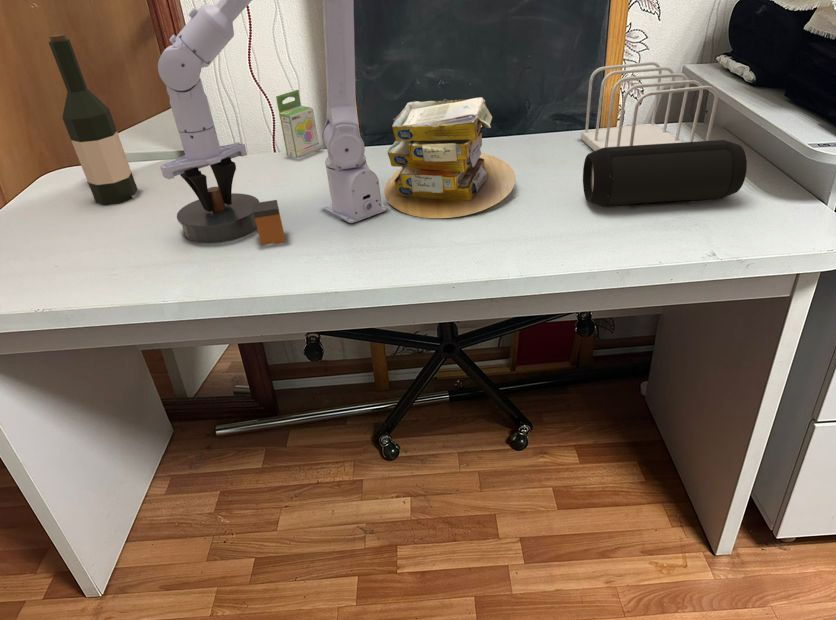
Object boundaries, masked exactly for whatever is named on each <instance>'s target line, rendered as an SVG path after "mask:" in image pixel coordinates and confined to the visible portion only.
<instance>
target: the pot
mask: <svg viewBox="0 0 836 620" xmlns="http://www.w3.org/2000/svg"><path fill="white" fill-rule="evenodd" d="M181 226H182V230H183V233H184V236H185V238H187V240H189V241H192V242H195V243H199V244H218V243H225V242H230V241H236V240H238V239H240V238H243V237H246V236H248V235H250V234H252V233H254V232H255V231H256V230H257V225H256V221H255V217H254V215H253V216H251V217H249V218H248V219H246V220H243V221H241V222H238V223H235V224H232V225H228V226H223V227H218V228H208V229H198V228H190V227H186V226H183V225H181Z"/></svg>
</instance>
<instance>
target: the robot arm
mask: <svg viewBox="0 0 836 620" xmlns="http://www.w3.org/2000/svg"><path fill="white" fill-rule="evenodd" d="M252 1H253V0H218V2H217V3H215V4H201V5H200V6H199V8H198V9H197V8H196V7H193V8H192V9H191V10H190V12H188V16H189V17H190V19H189V20H188V21H187V23H186V24H185V25H184V26H183V28H182V29H181V30H180V31H179V32H178V34H177V35H175V34H173V35H171V37H170V38H169V42H170V43H171V44H172V45H169V46H168V47H166V48H165V49H164V50H163V51H162V53H161V55H160V57H159V59H158V62H157V71H158V75H159V78H160V79H161V81H162V82H163V83H164V84H165V87H166V93H167V95H168V97H169V105H170V108H171V111H172V116H173V118H174V122H175V125H176V128H177V132H178V136H179V139H180V142H181V145H182V149H183V152H184V155H182V156H180V157H178V158H175V159H173V160H171V161H168V162H165V163H163V164H160V165H159V167H160V171H161V175H162V176H163V178H164V179H166V180H171V179H175V177H177V176H180V177H181V178H182V179H183V180H184V181H185V182H186V184H187V185H188V186H189V187H190V188H191V190H192V191H193V192H194V194H195V195H196V197H197V198H198V199H197V200H200V202H201V204H202V206H203V208H204V209H205V210H206V211H208V212H211V211H213V208H212V203H211V200H210V197H209V194H208V188H209V187H208V181H207V175H206V174H203V173H202V171H201V170H200V169H202V168H206V167H209V166H210V169H211V170H212V173H213V176H214V178H215V181H216V184H217V187H220V188H221V192H222V196H223V200H224V203H225V204H227V205H230V204H232V199H231V193H232V191H233V190H232V189H233V181H234V177H235V173H236V171H237V165H236V162H234V161H232V159H235V158H238V157H242V158H243V157H246V156H248V152H247V147H246V144H245V143H243V142H239V141H238V142H234V143H229V144H225V145H220V141H219V139H218V135H217V134H218V133H217V130H216V126H215V123H214V118H213V114H212V111H211V107H210V103H209V100H208V96H207V94H206V92H205V90H204V89H205V88H204V86H203V81H202V79H201V72H202V69H203V68H208V67H209V66H210V65H211V64H212V63H213V61H214V60H216V58H217V56H218V55H219V54H220V53H221V52H223V50H224V48H225V47H226V46H227V45H228V44H229V42H230V41H231V40H232V39H233V38H234V36H235V33H234V31H235V29H234V21H235V20H236V19H237V18H238V17H239V16H240V15H241V13H242V12H243V11H244V10H245V9H246V8H247V7H248V5H249V4H250V3H251V2H252ZM354 3H355V2H354V0H322V15H323V36H324V39H323V40H324V56H325V57H324V58H325V80H326V81H325V83H326V101H327V103H326V113H325V114H326V119H325V124H324V126H323V127H322V130H321V138H322V142H323V144H324V145H325V148H326V151H327V157H326V159H325V161H324V165H325V169H326V175H327V176H326V177H327V183H328V188H329V189H328V190H329V195H330V200H331V204H328V205H325V206H323V207H322V208H323V209H325V210H326V211H329V212H330V213H331V214H334V215H336V216H338V217H339V218H341V219H342V220H343V221H345V222H347V223H348V224H354V223H357V222H360V221H362V220H365V219H368V218H371V217H373V216H376V215H380V214H381V213H384V212H386V211H387V208H386V207H385V206H383V205H382V196H381V187H380V179H379V177H378V175H377V173H375V172H374V171H373V170H371V168H370V167H369V166H368V165H369V164H368V163H367V158H366V156H365V151H366V149H365V148H366V147H365V143H364V140H363V139H362V136H361V134H360V127H359V118H358V113H357V104H356V103H357V102H356V97H357V96H356V56H355V52H356V51H355V12H354V11H355V10H354V9H355V6H354Z"/></svg>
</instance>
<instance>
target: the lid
mask: <svg viewBox="0 0 836 620" xmlns="http://www.w3.org/2000/svg"><path fill="white" fill-rule="evenodd" d="M207 188H208V194H209V197H210V200H211V203H212V208H213V211H211V212H208V211H206V210H205V209H204V208H203V206H202V204H201V202H200V200H199V199H197V200H194V201H191V202H190V203H188V204H186V205H184V206H183V207H182V208H180V209H179V211H177V213H176V219H177V222H178V223H179V224H180V225H181V226H182V225H183V226H186V227H190V228H198V229H208V228H218V227H223V226H228V225H232V224H235V223H238V222H241V221H243V220H246V219H248V218H249V217H251V216H253V215H254V213H253V203H259V202H260V199H258V198H257V197H256V196H254V195H251V194H246V193H240V192H239V193H237V192H235V193H231V199H232V204H230V205H227V204H225V203H224V200H223V196H222V192H221V188H220V187H218V186H210V187H207ZM183 226H182V227H183Z"/></svg>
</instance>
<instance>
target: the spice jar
mask: <svg viewBox="0 0 836 620" xmlns="http://www.w3.org/2000/svg"><path fill="white" fill-rule="evenodd" d="M253 213H254V217H255V221H256V225H257V229H256V230H257V234H258V238H259V241H260V245H261V246H264V245H272V246H273V245H277V244H284V243H286V238H285V237H286V236H285V232H284V231H285V230H284V226H283V222H282V218H281V213H280V207H279V203H278V200H277V199H272V200H267V201H259V203H253Z"/></svg>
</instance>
